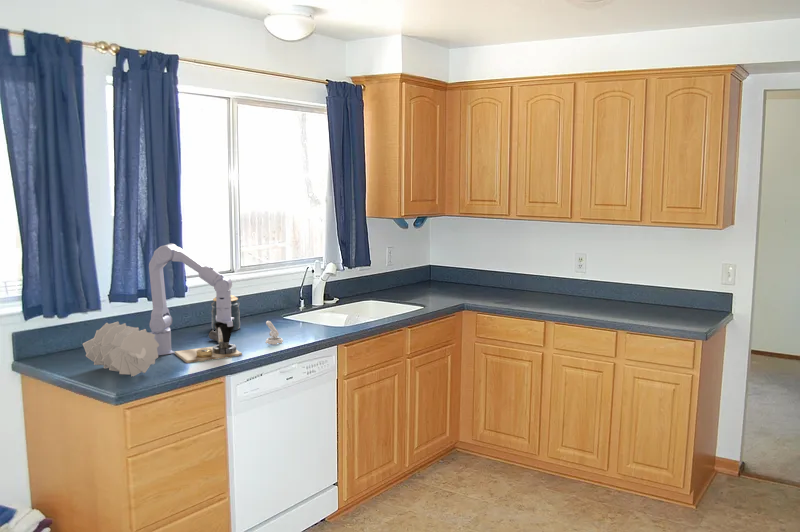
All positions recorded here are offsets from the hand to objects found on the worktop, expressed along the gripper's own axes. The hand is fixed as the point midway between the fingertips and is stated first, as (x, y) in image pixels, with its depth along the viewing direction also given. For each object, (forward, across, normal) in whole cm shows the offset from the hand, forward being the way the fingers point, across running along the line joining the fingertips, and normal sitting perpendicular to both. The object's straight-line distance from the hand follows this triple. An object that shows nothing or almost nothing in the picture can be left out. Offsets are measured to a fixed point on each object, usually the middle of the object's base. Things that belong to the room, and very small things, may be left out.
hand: (224, 341), depth 279 cm
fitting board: (+5, +2, +6) cm, 8 cm away
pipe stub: (+2, 0, 0) cm, 2 cm away
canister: (+6, +43, -16) cm, 46 cm away
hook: (+6, +8, -25) cm, 27 cm away
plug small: (+5, -2, +9) cm, 11 cm away
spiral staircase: (+6, -5, +40) cm, 41 cm away
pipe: (+6, +19, -5) cm, 20 cm away
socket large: (+5, 0, 0) cm, 5 cm away
